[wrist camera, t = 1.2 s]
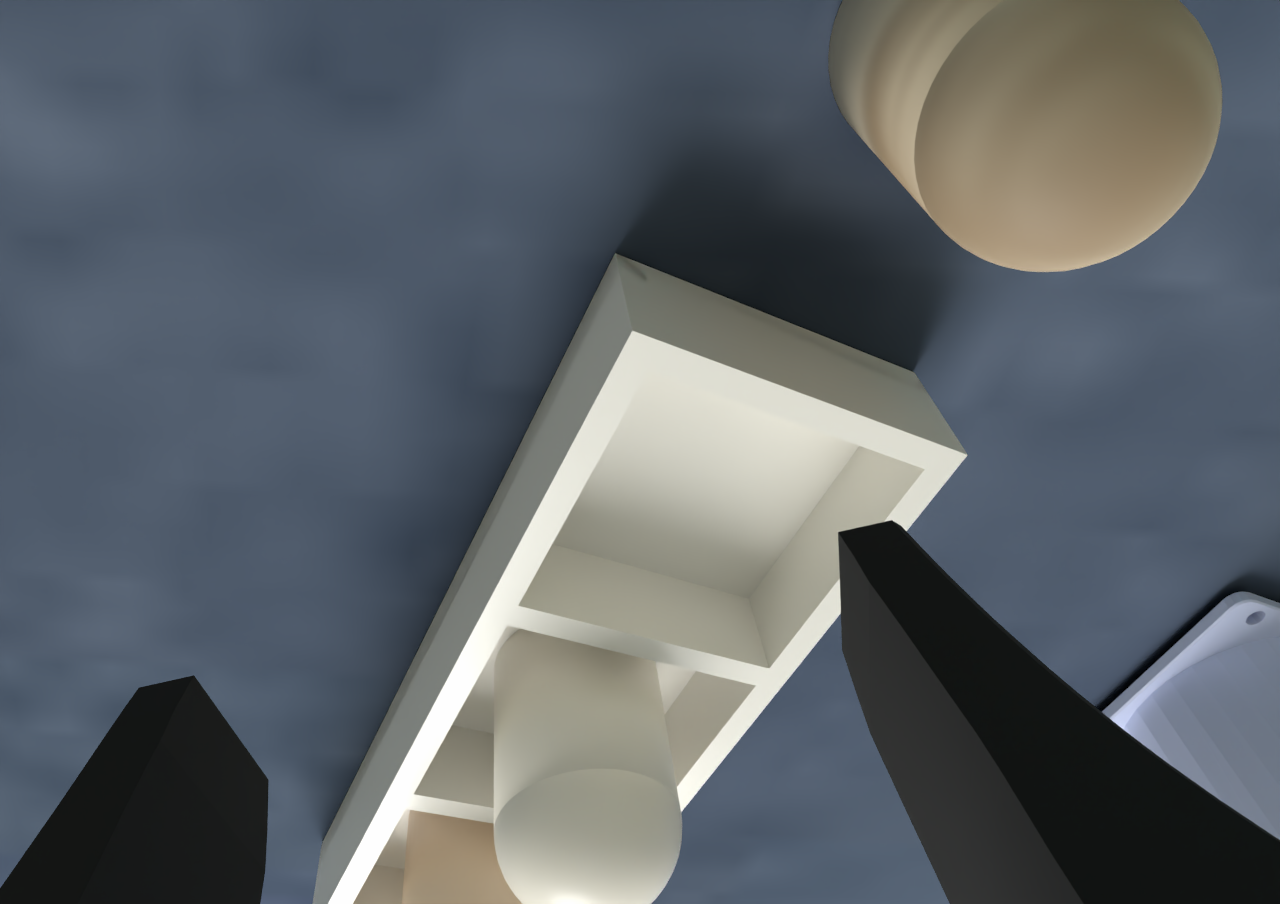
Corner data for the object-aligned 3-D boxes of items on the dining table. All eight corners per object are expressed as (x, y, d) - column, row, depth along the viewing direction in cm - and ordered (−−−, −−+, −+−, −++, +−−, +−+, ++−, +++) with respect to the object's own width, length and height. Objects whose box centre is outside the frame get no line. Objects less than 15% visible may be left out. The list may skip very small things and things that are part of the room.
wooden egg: (1100, -18, 17) (1362, 95, 12) (961, 188, 19) (1134, 361, 14) (915, -134, 15) (1123, -62, 10) (785, 102, 17) (906, 259, 12)
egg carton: (914, 372, 21) (1069, 612, 15) (548, 877, 31) (559, 1135, 26) (614, 253, 19) (667, 486, 13) (322, 843, 29) (278, 1121, 23)
